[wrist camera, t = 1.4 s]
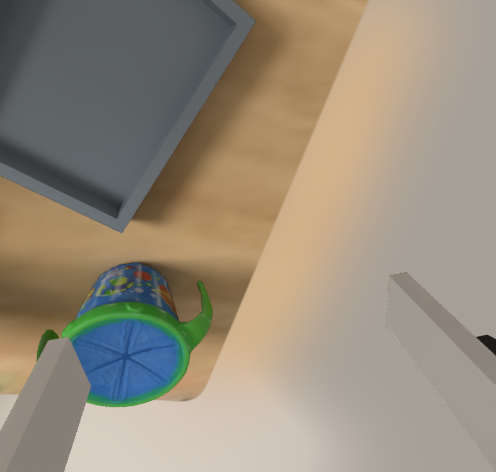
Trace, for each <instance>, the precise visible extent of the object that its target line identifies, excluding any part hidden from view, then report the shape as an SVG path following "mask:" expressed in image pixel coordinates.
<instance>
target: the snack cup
mask: <svg viewBox="0 0 496 472" xmlns="http://www.w3.org/2000/svg"><path fill="white" fill-rule="evenodd" d="M197 286H198V289H199V291H200V293H201V303H202V312H201V313H200V314H199V315H198V316H197V317H196V318H195V319H193V320H192V321H190V322H185V323H182V322H179V319H178V316H177V312H176V309H175V306H174V302H173V299H172V296H171V294H170V290H169V287H168V285H167V282H166V280H165V279H164V278H163V277H162V276H161V275H160V274H159V273H158V272H157V271H156V270H154V269H153V268H151V267H148V266H144V265H142V264H141V263H131V264H121V265H118V266H116V267H113V268H111V269H110V270H108V271H106V272H105V273H103V274H102V275H100V277H99V279H98V280H97V282H96V283H95V284H94V285H93V287H92V289H91V291H90V293H89V294H88V296H87V298H86V300H85V301H84V303H83V305H82V307H81V309H80V311H79V312H78V315H77V318H76V319H75V320H73V321H72V322H71V323H69V324H68V325H67V327H66V328H65V329H64V330H63V332H62V336H61V338H64V337H69V339H70V341H71V343H72V345H73V348H74V350H75V352H76V354H77V356H78V359H79V361H80V363H81V365H82V367H83V370H84V372H85V374H86V376H87V378H88V381H89V383H90V385H91V388H90V391H89V395H88V398H87V401H86V402H87V403H91V404H94V405H99V406H106V407H127V406H134V405H139V404H143V403H146V402H149V401H152V400H154V399H156V398H159V397H160V396H162V395H164V394H165V393H167V392H168V391H170V390H171V389H172V388H173V387H174V386H175V385H176V384H177V383H178V382H179V381H180V380H181V379H182V377H183V376H184V374H185V373H186V370H187V368H188V365H189V359H190V353H191V351H192V350H193V349H194V348H195V347H196V346H197V345H198V344H199V343H200V341H201V340H202V339H203V338H204V336H205V335H206V333H207V331H208V329H209V327H210V324H211V320H212V312H213V311H212V306H211V303H210V300H209V297H208V295H207V292H206V289H205V287H204V285H203V283H202V282H201V281H198V283H197ZM54 339H59V337H58V335H57V334H56V333H55V332H54V331H53V330H46V332H45V333H44V334H43V335H42V337H41V340H40V343H39V346H38V351H37V361H38V359H39V357H40V355H41V353H42V352H43V350H44V348H45V346H46V344H47V342H48V341H49V340H54Z"/></svg>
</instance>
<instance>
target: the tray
mask: <svg viewBox="0 0 496 472" xmlns="http://www.w3.org/2000/svg"><path fill="white" fill-rule="evenodd" d="M255 22H256V21H255V20H254V19H253V18H252V17H251V16H250V15H249V14H248V13H247V12H245V11H244V10H243V9H242V8H241V7H240V6H239V5H238V4H237V3H236V2H235V1H234V0H0V176H2V177H4V178H6V179H8V180H10V181H12V182H14V183H17V184H19V185H21V186H23V187H25V188H27V189H29V190H31V191H34V192H36V193H38V194H40V195H42V196H44V197H46V198H48V199H50V200H53V201H55V202H57V203H59V204H61V205H63V206H65V207H67V208H70V209H72V210H74V211H76V212H78V213H80V214H82V215H84V216H86V217H89V218H91V219H93V220H95V221H97V222H99V223H101V224H103V225H106V226H108V227H110V228H112V229H114V230H116V231H118V232H120V233H123V231H124V229H125V228H126V226H127V225H128V223H129V221H130V220H131V218H132V217H133V215H134V214H135V212H136V210H137V209H138V207H139V206H140V204H141V202H142V201H143V199H144V198H145V196H146V195H147V193H148V191H149V190H150V188H151V187H152V185H153V183H154V182H155V180H156V179H157V177H158V176H159V174H160V172H161V171H162V169H163V168H164V166H165V164H166V163H167V161H168V160H169V158H170V157H171V155H172V153H173V152H174V150H175V149H176V147H177V146H178V144H179V142H180V141H181V139H182V138H183V136H184V134H185V133H186V131H187V130H188V128H189V127H190V125H191V123H192V122H193V120H194V119H195V117H196V115H197V114H198V112H199V111H200V109H201V108H202V106H203V104H204V103H205V101H206V100H207V98H208V96H209V95H210V93H211V92H212V90H213V89H214V87H215V85H216V84H217V82H218V81H219V79H220V77H221V76H222V74H223V73H224V71H225V70H226V68H227V66H228V65H229V63H230V62H231V60H232V58H233V57H234V55H235V54H236V52H237V51H238V49H239V47H240V46H241V44H242V43H243V41H244V40H245V38H246V36H247V35H248V33H249V32H250V30H251V28H252V27H253V25H254V24H255Z"/></svg>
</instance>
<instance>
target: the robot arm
mask: <svg viewBox="0 0 496 472" xmlns="http://www.w3.org/2000/svg"><path fill="white" fill-rule="evenodd" d="M386 328H387V329H388V330H389V332H390V333H391V334H392V336H393V337H394V338H395V340H396V341H397V342H398V344H399V345H400V346H401V348H402V349H403V350H404V351H405V353H406V354H407V355H408V357H409V358H410V359H411V361H412V362H413V363H414V364H415V366H416V367H417V369H418V370H419V371H420V372H421V374H422V375H423V376H424V378H425V379H426V380H427V382H428V383H429V384H430V386H431V387H432V388H433V389H434V391H435V392H436V393H437V395H438V396H439V397H440V399H441V400H442V401H443V403H444V404H445V405H446V407H447V408H448V409H449V411H450V412H451V413H452V415H453V416H454V417H455V419H456V420H457V421H458V422H459V423H460V425H461V426H462V428H463V429H464V430H465V432H466V433H467V434H468V436H469V437H470V438H471V440H472V441H473V442H474V444H475V445H476V446H477V447H478V449H479V450H480V451H481V453H482V454H483V455H484V457H485V458H486V459H487V461H488V462H489V463H490V464H491V466H492V467H493V468H494V470H495V471H496V339H495V338H493V337H491V336H489V335H484V336H479V337H475V336H474V335H473V334H472V333H471V332H470V331H469V330H468V329H466V328H465V327H464V326H463V325H462V324H461V323H460V322H459V321H458V320H457V319H456V318H455V317H454V316H453V315H452V314H450V313H449V312H448V311H447V310H446V309H445V308H444V307H443V306H442V305H441V304H440V303H439V302H438V301H437V300H435V299H434V298H433V297H432V296H431V295H430V294H429V293H428V292H427V291H426V290H425V289H424V288H423V287H422V286H421V285H419V284H418V283H417V282H416V281H415V280H414V279H413V278H412V277H411V276H410V275H409V274H408V273H407V272H405V273H400V274H395V275H389V284H388V299H387V314H386ZM90 388H91V385H90V383H89V381H88V378H87V376H86V374H85V372H84V370H83V367H82V365H81V363H80V361H79V359H78V356H77V354H76V352H75V350H74V348H73V345H72V343H71V341H70V339H69V337H64V338H59V339H54V340H49V341H48V342H47V344H46V346H45V348H44V350H43V352H42V353H41V355H40V357H39V359H38V361H37V363H36V365H35V367H34V368H33V370H32V372H31V374H30V376H29V378H28V380H27V382H26V383H25V385H24V387H23V389H22V391H21V393H20V395H19V397H18V399H17V400H16V402H15V404H14V406H13V408H12V410H11V412H10V414H9V415H8V417H7V419H6V421H5V423H4V425H3V427H2V429H1V431H0V472H64V470H65V467H66V463H67V460H68V457H69V454H70V451H71V448H72V445H73V441H74V438H75V435H76V432H77V429H78V426H79V422H80V419H81V416H82V413H83V410H84V407H85V404H86V401H87V398H88V395H89V391H90Z"/></svg>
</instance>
